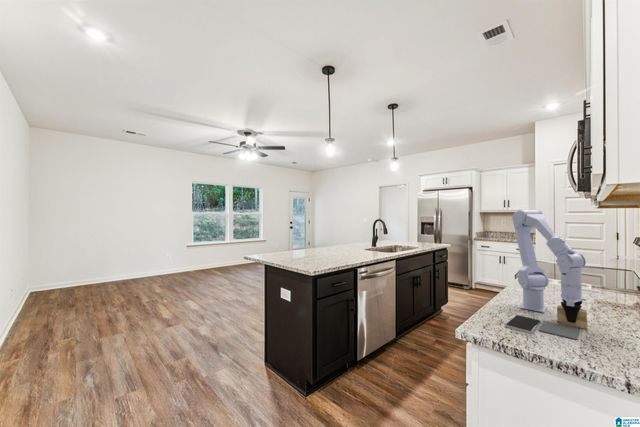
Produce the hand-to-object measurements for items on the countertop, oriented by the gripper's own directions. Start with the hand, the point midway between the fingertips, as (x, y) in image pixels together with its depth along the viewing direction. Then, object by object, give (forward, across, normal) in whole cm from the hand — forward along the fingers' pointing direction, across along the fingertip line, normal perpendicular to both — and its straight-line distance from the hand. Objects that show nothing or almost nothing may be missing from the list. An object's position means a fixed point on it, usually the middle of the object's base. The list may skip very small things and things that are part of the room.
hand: (572, 320), depth 101 cm
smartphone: (+2, -12, +13) cm, 18 cm away
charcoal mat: (+1, -10, +3) cm, 11 cm away
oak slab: (+1, 0, 0) cm, 1 cm away
